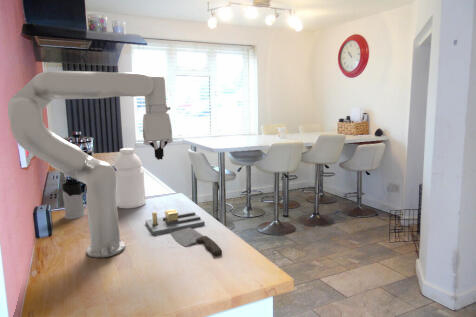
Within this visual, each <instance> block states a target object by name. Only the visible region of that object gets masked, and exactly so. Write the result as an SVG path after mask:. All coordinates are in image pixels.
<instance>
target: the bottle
mask: <svg viewBox="0 0 476 317" xmlns="http://www.w3.org/2000/svg"><path fill="white" fill-rule="evenodd" d="M142 166H143V162H142V161H141V159H140V157H139V156H138V155H137V154H136V153H135V149H134V148H133V147H124V148H120V149H119V155H118V156H117V157H116V159H115V161H114V164H113V168H114V169H116V170H115V172H116V176H117V183H116V201H117V208H120V209H135V208H140V207H142V206H144V205H145V204H146V190H145V189H146V188H145V177H144V176H145V174H144V170H143V169H142V168H141V167H142Z"/></svg>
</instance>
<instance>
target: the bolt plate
mask: <svg viewBox="0 0 476 317" xmlns="http://www.w3.org/2000/svg"><path fill="white" fill-rule="evenodd" d="M151 214H152V217H151V219H146V220H145V225H146V226H147V228H148V230H149V231H150V233H151V234H152V235H153V236H158V235H161V234H167V233H170V232H172V231H175V230H179V229H183V228H187V227H189V228H192V229H194V228H197V227H203V226H205V225H206V224H205V223H206V222H205V220H203V219H202V218H201V216H198V215H197V214H196V212H194V211H191V212H185V213H180V214H179V213H178V221H173V222H167V221H166V219H165V216H163V217H158V212H157V211H153V212H152V213H151Z"/></svg>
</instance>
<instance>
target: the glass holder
mask: <svg viewBox="0 0 476 317" xmlns="http://www.w3.org/2000/svg"><path fill="white" fill-rule="evenodd" d="M61 186H62V191H61V192H62V199H63V208H64V219H67V220H71V219H72V220H73V219H74V220H76V219H79V218H82V217H84V216H86V213H85V208H87V203H86V204H84V197H83V195H84V194H86V193H87V185H86V184H85V186H84V192H82V182H80V181H69V182H65V183H62V184H61Z"/></svg>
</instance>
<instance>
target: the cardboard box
mask: <svg viewBox="0 0 476 317" xmlns="http://www.w3.org/2000/svg"><path fill="white" fill-rule="evenodd" d="M178 215H179V212H178V211H177V210H176V209H175V208H173V209H167V210H166V209H165V210H164V217H165V219H166V221H167V222H173V221H178Z"/></svg>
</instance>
